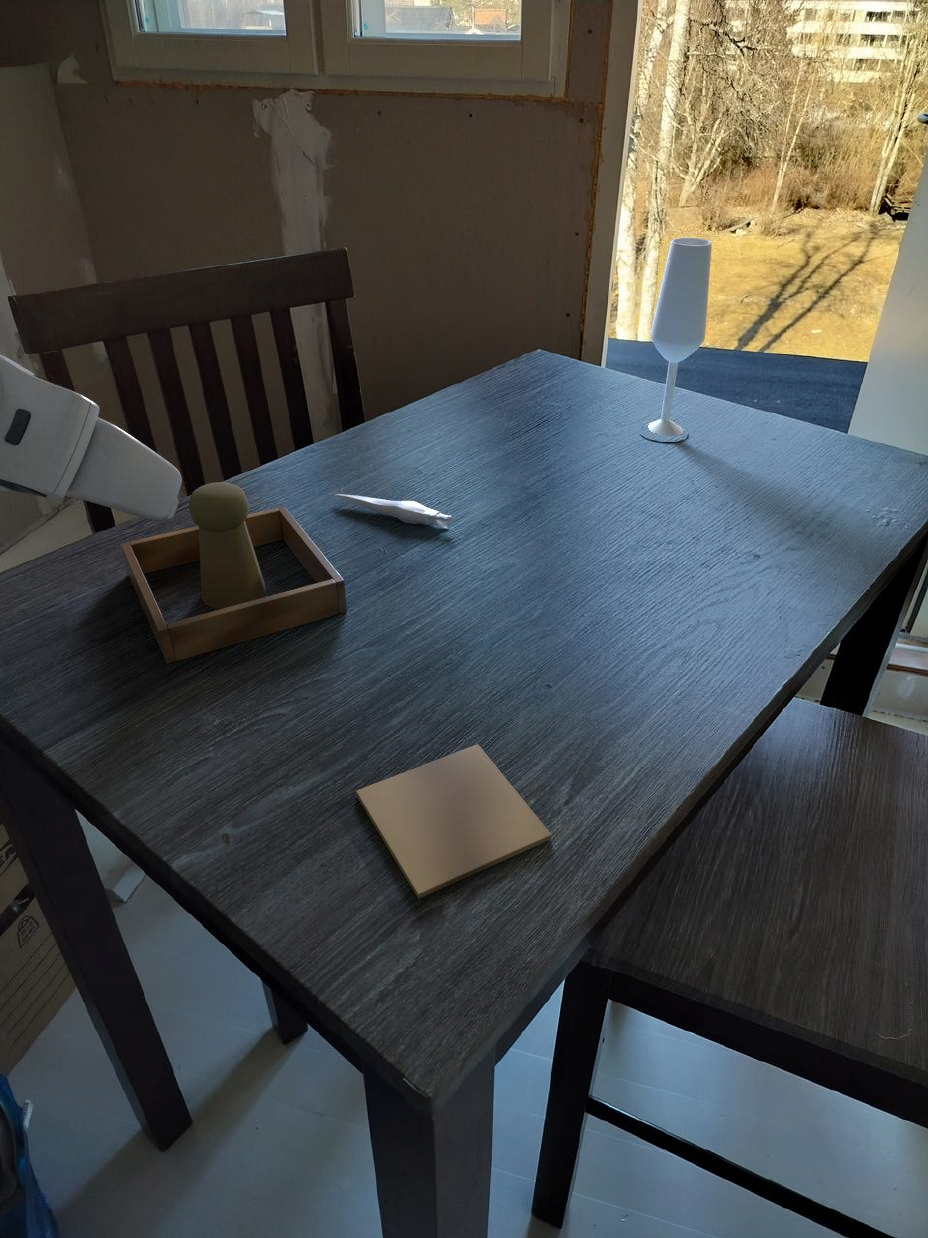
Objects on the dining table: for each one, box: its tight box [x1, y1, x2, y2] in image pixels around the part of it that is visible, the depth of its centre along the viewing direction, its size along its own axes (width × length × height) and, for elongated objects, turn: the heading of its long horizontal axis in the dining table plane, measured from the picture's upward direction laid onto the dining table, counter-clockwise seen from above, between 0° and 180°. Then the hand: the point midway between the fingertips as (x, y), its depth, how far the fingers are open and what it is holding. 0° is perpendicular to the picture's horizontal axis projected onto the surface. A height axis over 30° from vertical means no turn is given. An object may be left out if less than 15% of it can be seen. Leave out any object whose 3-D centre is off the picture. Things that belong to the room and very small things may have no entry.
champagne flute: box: [648, 237, 713, 436], centre depth 108 cm, size 7×7×24 cm
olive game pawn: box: [188, 481, 267, 610], centre depth 79 cm, size 6×6×11 cm
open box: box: [120, 505, 348, 665], centre depth 81 cm, size 17×17×4 cm
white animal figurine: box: [334, 493, 454, 530], centre depth 94 cm, size 15×3×2 cm, turn 65°
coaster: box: [355, 744, 552, 900], centre depth 59 cm, size 10×10×1 cm
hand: (123, 494), depth 66 cm, fingers open, 8 cm apart
